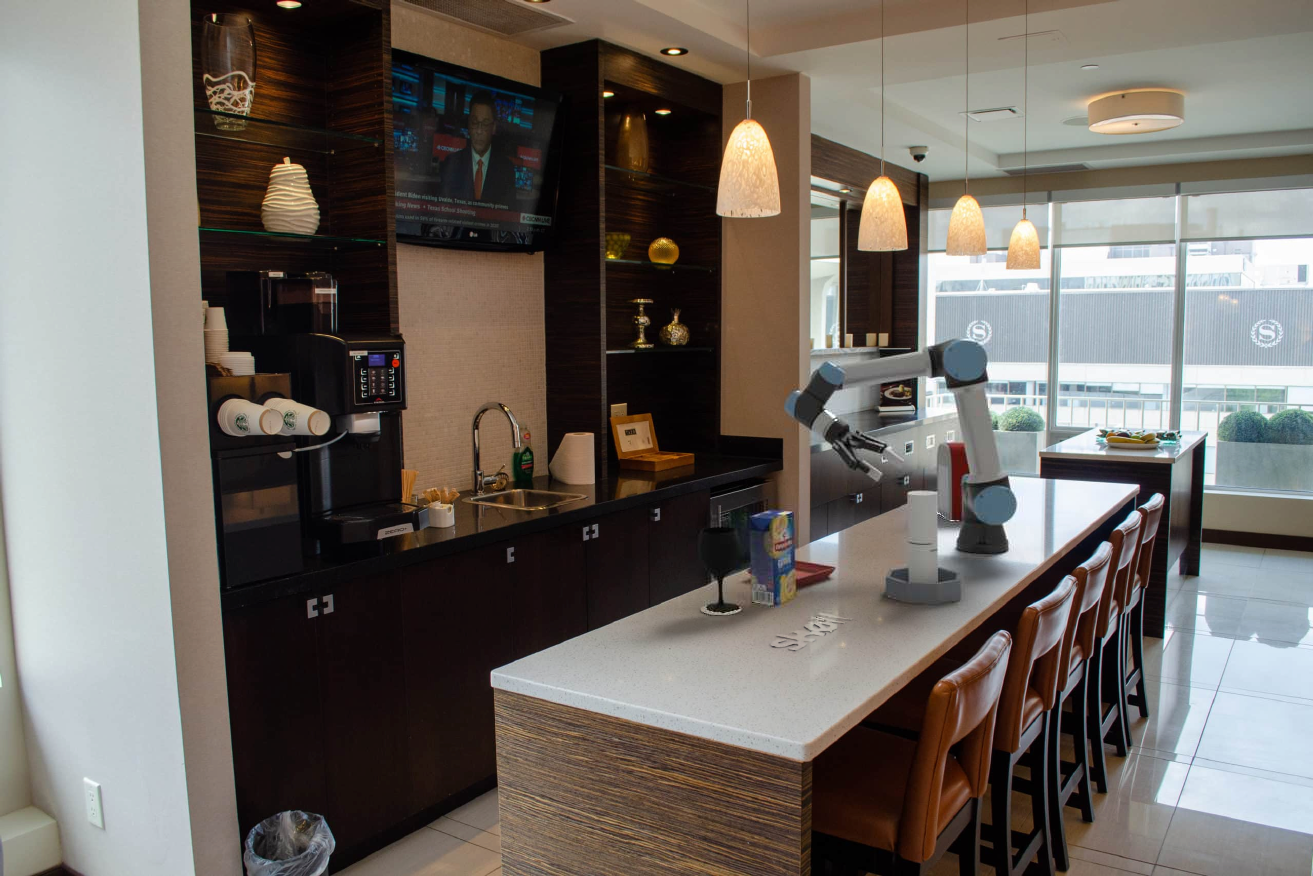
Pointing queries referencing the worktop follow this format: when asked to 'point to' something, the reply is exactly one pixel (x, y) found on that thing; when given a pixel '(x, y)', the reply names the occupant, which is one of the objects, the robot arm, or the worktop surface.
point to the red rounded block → (951, 478)
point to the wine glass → (719, 559)
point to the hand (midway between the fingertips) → (891, 471)
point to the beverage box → (772, 557)
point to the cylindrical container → (922, 537)
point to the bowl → (924, 587)
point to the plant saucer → (809, 572)
